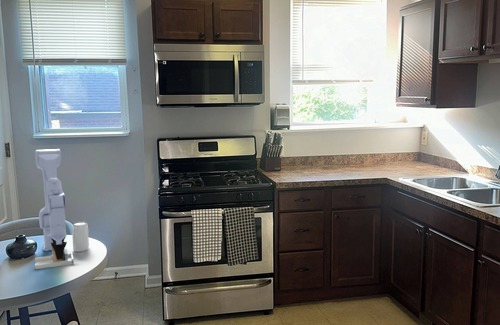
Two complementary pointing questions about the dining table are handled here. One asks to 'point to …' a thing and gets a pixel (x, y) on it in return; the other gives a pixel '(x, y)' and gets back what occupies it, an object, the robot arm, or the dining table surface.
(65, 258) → the pusher
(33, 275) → the dining table surface
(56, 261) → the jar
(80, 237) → the can
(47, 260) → the pusher lane
